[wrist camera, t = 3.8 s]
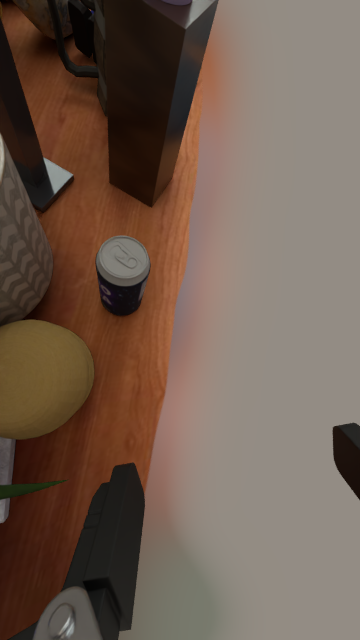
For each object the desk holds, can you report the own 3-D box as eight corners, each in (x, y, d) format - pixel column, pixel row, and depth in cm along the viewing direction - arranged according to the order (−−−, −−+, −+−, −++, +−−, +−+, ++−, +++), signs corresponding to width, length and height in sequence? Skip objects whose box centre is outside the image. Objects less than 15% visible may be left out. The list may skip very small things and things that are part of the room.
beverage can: (117, 274, 37) (118, 222, 26) (148, 295, 37) (162, 254, 26) (92, 302, 35) (81, 259, 24) (125, 325, 35) (130, 293, 24)
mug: (169, 91, 51) (189, -23, 37) (166, 139, 47) (188, 32, 33) (67, 59, 46) (46, -85, 32) (54, 110, 42) (25, -29, 28)
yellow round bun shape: (107, 390, 22) (119, 377, 32) (26, 288, 22) (63, 307, 32) (-12, 485, 20) (40, 440, 30) (-100, 373, 20) (-19, 365, 30)
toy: (13, -54, 38) (126, -163, 42) (44, 45, 51) (128, -44, 55) (148, 63, 41) (241, -48, 45) (144, 128, 55) (216, 38, 59)
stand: (109, 182, 41) (103, -27, 21) (132, 154, 44) (147, -53, 24) (151, 207, 42) (185, 29, 21) (171, 178, 45) (219, -4, 24)
